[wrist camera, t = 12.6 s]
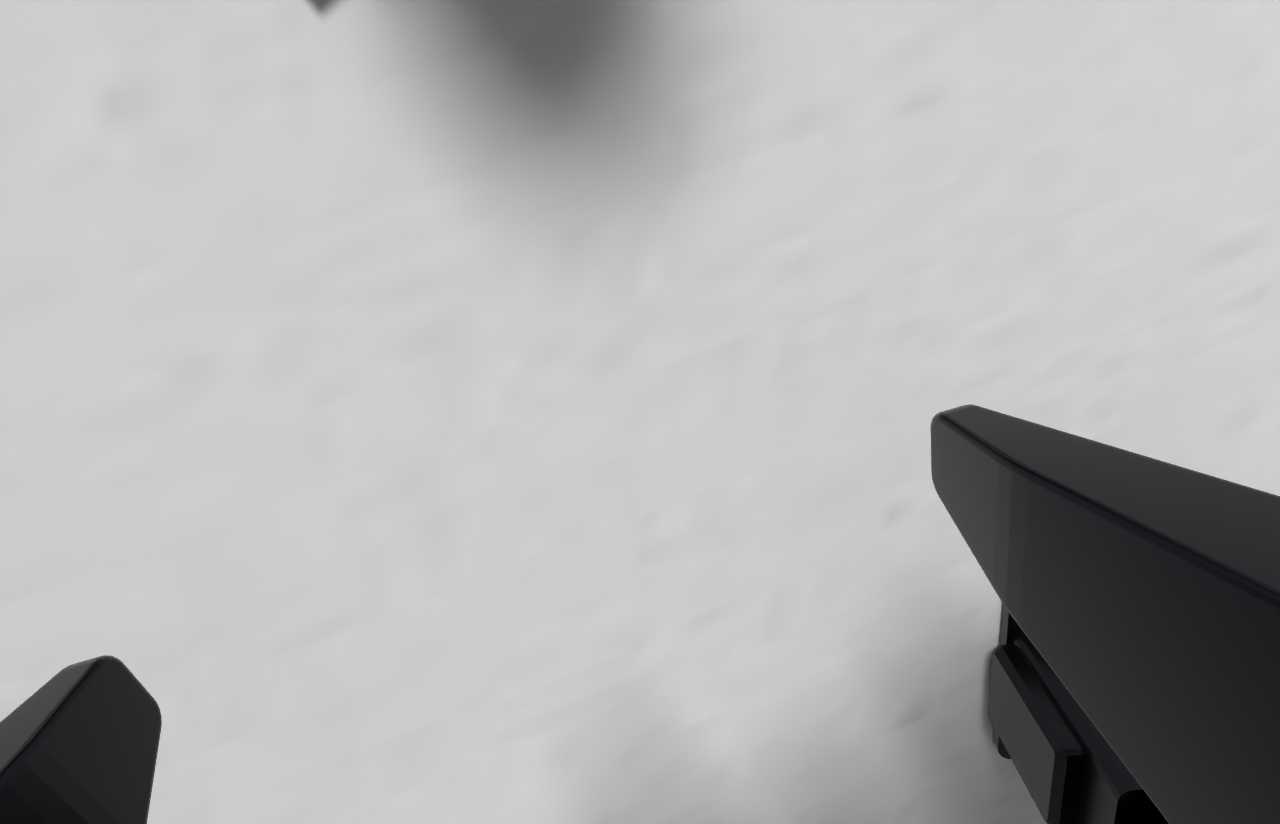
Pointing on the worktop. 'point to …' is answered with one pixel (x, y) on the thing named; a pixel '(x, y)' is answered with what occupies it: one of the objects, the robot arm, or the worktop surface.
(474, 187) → the worktop surface
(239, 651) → the worktop surface
